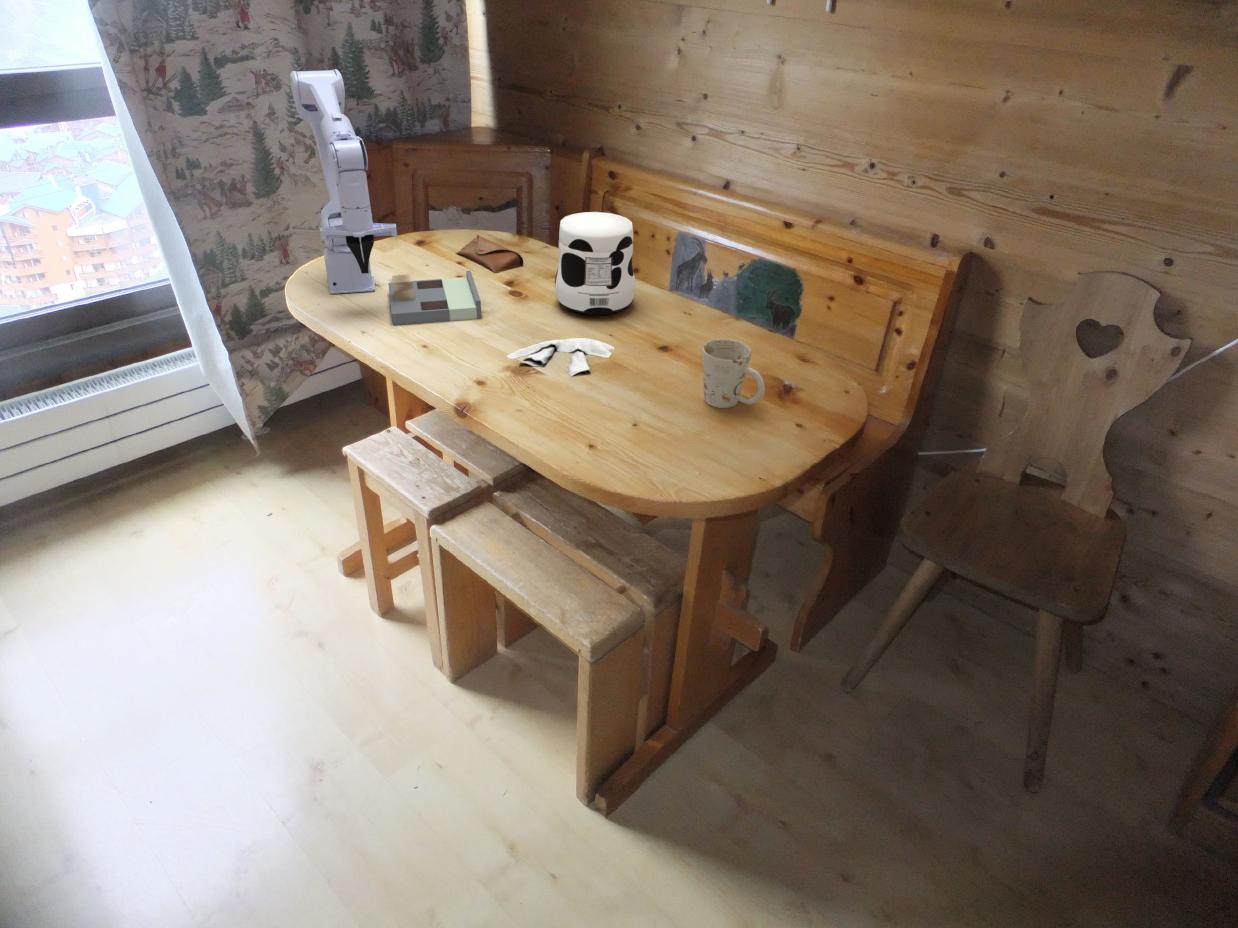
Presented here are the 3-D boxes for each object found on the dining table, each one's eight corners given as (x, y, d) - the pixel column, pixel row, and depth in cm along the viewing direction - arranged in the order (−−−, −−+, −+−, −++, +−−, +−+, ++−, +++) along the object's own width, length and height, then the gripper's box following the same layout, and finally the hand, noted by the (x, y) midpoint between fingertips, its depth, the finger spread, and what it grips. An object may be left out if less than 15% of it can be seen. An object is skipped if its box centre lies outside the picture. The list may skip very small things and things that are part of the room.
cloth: (625, 346, 161) (626, 335, 160) (593, 397, 144) (593, 385, 142) (529, 331, 165) (529, 320, 164) (487, 379, 148) (486, 368, 147)
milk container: (596, 283, 186) (597, 205, 176) (650, 306, 177) (655, 225, 166) (538, 303, 176) (536, 221, 166) (593, 328, 166) (594, 243, 156)
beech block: (395, 301, 168) (392, 282, 166) (394, 293, 171) (391, 275, 169) (414, 299, 169) (412, 281, 167) (413, 292, 172) (411, 274, 170)
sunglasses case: (451, 253, 199) (461, 227, 198) (472, 261, 205) (482, 236, 204) (496, 274, 189) (506, 247, 188) (517, 282, 195) (527, 256, 193)
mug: (714, 384, 148) (720, 334, 143) (773, 407, 142) (782, 356, 136) (688, 400, 143) (693, 349, 137) (748, 425, 136) (756, 373, 131)
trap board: (393, 325, 164) (390, 307, 162) (389, 293, 177) (387, 276, 175) (481, 318, 168) (480, 300, 166) (471, 287, 182) (470, 270, 180)
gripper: (315, 213, 152) (327, 281, 160) (394, 209, 156) (402, 276, 163) (316, 202, 158) (328, 268, 166) (392, 198, 161) (400, 264, 169)
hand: (365, 271), depth 165 cm, fingers closed
